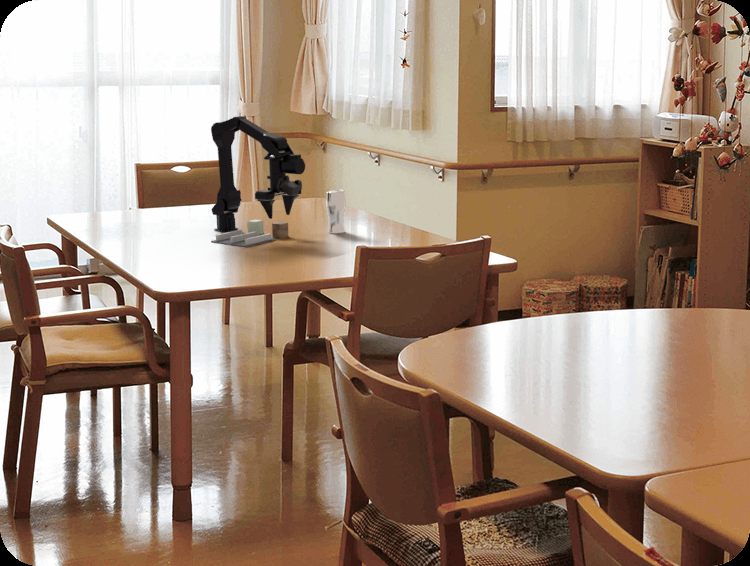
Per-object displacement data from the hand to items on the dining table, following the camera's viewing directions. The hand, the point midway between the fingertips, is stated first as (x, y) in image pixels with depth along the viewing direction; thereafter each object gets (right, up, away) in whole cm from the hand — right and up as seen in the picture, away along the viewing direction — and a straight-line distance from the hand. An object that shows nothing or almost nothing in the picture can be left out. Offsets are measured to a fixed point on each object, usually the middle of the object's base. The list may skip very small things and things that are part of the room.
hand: (279, 216), depth 338 cm
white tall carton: (+20, -5, +8) cm, 22 cm away
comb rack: (-12, -9, -5) cm, 16 cm away
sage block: (-9, -6, +7) cm, 13 cm away
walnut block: (0, -7, +2) cm, 7 cm away
